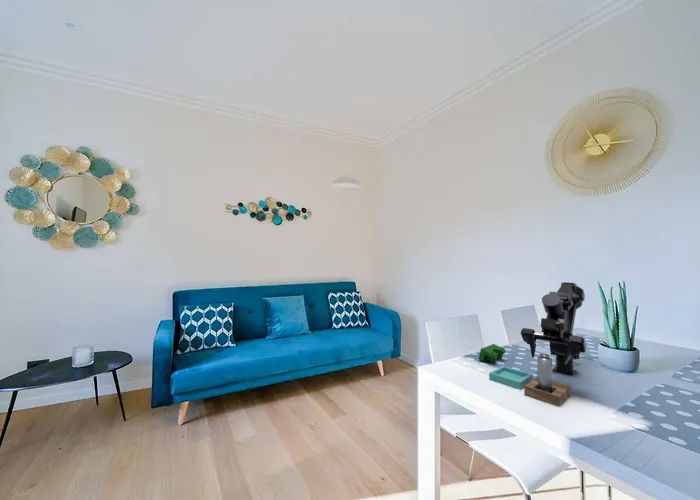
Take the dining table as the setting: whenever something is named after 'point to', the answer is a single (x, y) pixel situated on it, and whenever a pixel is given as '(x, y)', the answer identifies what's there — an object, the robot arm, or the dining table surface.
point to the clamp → (491, 353)
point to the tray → (511, 377)
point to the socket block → (556, 397)
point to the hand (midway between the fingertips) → (547, 360)
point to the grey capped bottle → (545, 373)
